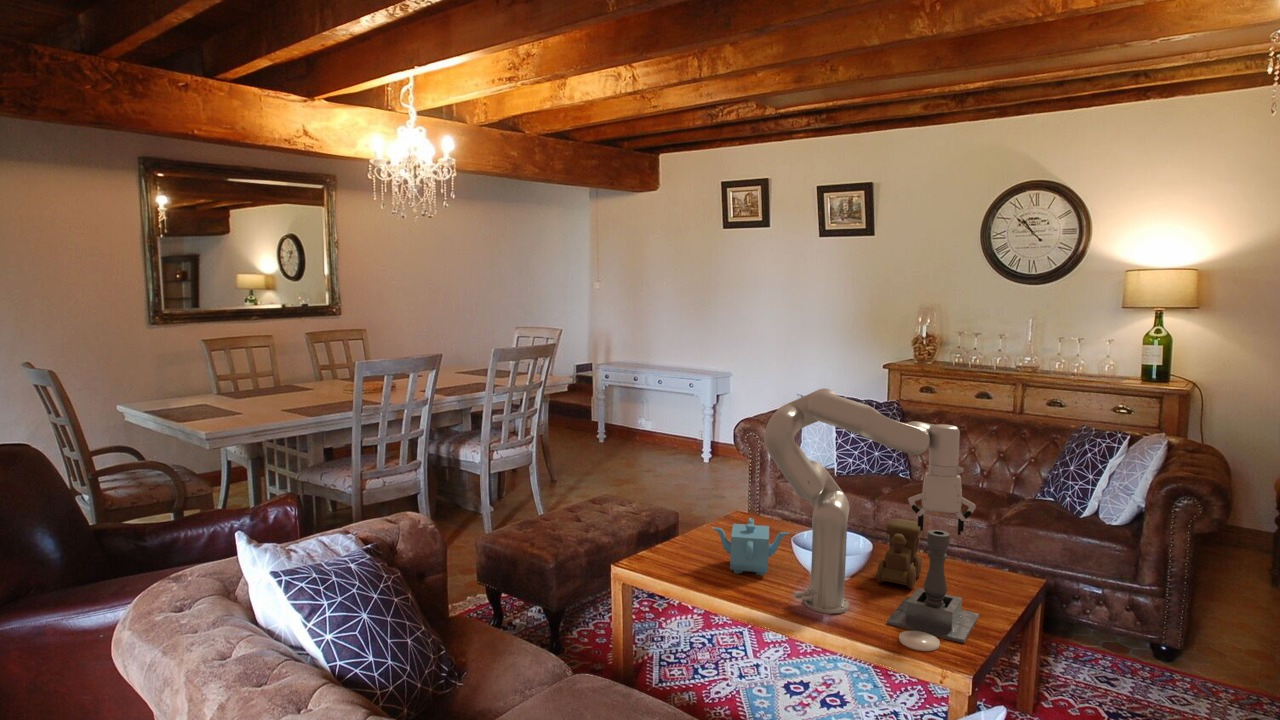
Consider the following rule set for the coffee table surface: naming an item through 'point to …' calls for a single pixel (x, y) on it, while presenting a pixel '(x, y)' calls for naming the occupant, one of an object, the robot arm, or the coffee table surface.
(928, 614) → the socket
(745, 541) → the teakettle
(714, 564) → the coffee table surface
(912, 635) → the coaster
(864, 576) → the coffee table surface
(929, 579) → the candle holder
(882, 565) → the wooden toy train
